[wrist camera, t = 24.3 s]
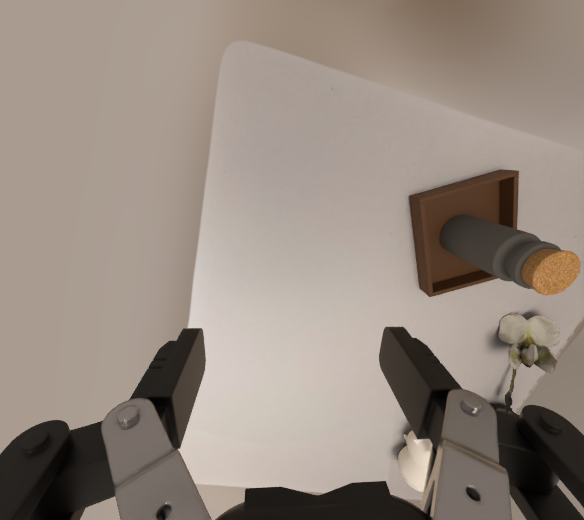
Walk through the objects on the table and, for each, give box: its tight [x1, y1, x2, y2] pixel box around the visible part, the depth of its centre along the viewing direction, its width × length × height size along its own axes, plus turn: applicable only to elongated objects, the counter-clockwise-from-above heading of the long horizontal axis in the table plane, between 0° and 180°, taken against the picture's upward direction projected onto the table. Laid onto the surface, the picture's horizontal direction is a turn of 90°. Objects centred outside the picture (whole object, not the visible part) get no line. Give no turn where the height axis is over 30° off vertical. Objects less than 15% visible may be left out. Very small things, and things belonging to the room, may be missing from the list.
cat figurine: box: [398, 430, 433, 492], centre depth 54 cm, size 9×11×12 cm
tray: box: [409, 170, 519, 297], centre depth 40 cm, size 15×13×3 cm
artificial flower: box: [492, 313, 560, 415], centre depth 47 cm, size 9×22×10 cm, turn 178°
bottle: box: [440, 215, 580, 295], centre depth 33 cm, size 6×6×15 cm
